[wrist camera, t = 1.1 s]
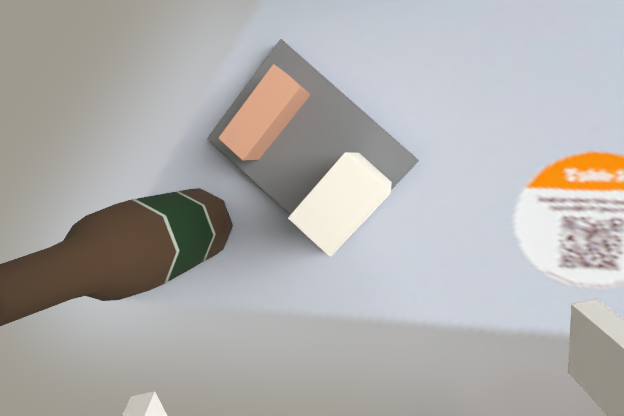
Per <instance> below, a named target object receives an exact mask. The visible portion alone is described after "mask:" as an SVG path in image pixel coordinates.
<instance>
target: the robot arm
mask: <svg viewBox="0 0 624 416" xmlns="http://www.w3.org/2000/svg"><path fill="white" fill-rule="evenodd" d="M568 373H569V374H570V375H571V376H572V377H573V378H574V379H575V380H576V381H577V383H578V384H579V385H580V386H581V387H582V388H583V389H584V390H585V392H587V394H588V395H589V396H590V397H591V398H592V399H593V400H594V401H595V403H596V404H598V406H599V407H600V408H601V409H602V410H603V411H604V413H605V414H606V415H607V416H624V319H622V318H621V317H620V316H618V315H617V314H616V313H615V312H613V311H612V310H611V309H609V308H608V307H607V306H605V305H604V304H603V303H601V302H600V301H599V300H597V299H594V300H589V301H585V302H580V303H575V304H572V305H571V324H570V342H569V361H568ZM122 416H167V414H166V412H165V410H164V408H163V407H162V405H161V403H160V400H159V398H158V397H157V395H156V393H155V391H154V392H149V393H144V394H140V395H135V396H131V398H130V400H129V402H128V404H127V406H126V408H125V410H124V413H123V415H122Z"/></svg>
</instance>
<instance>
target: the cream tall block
mask: <svg viewBox="0 0 624 416" xmlns="http://www.w3.org/2000/svg"><path fill="white" fill-rule="evenodd" d="M391 184H392V182H391V181H390V180H389V179H388V178H387V177H386V176H385V175H383V174H382V173H381V172H380V171H379V170H378V169H377V168H376V167H374V166H373V165H372V164H371V163H370V162H369V161H368V160H367V159H365V158H364V157H363V156H362V155H361V154H360V153H348V152H345V153H344V154H343V155H342V156H341V157H340V159H339V160H338V161H337V162H336V163H335V164H334V166H333V167H332V168H331V169H330V170H329V171H328V172H327V174H326V175H325V176H324V177H323V178H322V179H321V180H320V182H319V183H318V184H317V185H316V186H315V187H314V189H313V190H312V191H311V192H310V193H309V194H308V195H307V197H306V198H305V199H304V200H303V201H302V202H301V203H300V205H299V206H298V207H297V208H296V209H295V210H294V212H293V213H292V214H291V215H290V216H289V217H288V219H289V220H290V221H291V222H293V223H294V224H295V225H296V226H297V227H298V228H299V229H300V230H301V231H302V232H303V233H304V234H306V235H307V236H308V237H309V238H310V239H311V240H312V241H313V242H314V243H315V244H316V245H317V246H319V247H320V248H321V249H322V250H323V251H324V252H325V253H326V254H327V255H328V256H329V257H331V256H332V255H333V254H334V253H335V252H336V251H337V250H338V248H339V247H340V246H341V245H342V244H343V243H344V242H345V241H346V240H347V239H348V238H349V237H350V236H351V235H352V234H353V233H354V232H355V231H356V229H357V228H358V227H359V226H360V225H361V224H362V223H363V222H364V221H365V220H366V219H367V218H368V217H369V216H370V215H371V214H372V213H373V211H374V210H375V209H376V208H377V207H378V206H379V205H380V204H381V203H382V202H383V201H384V200H385V199H386V198H387V197H388V196H389V195H390V194H391Z"/></svg>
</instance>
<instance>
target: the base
mask: <svg viewBox="0 0 624 416" xmlns="http://www.w3.org/2000/svg"><path fill="white" fill-rule="evenodd" d="M273 64H275V65H276V66H277V67H279V68H280V69H281V70H283V71H284V72H285V73H287V74H288V75H289V76H290V77H291V78H292V79H294V80H295V81H296V82H297V83H298V84H299V85H300V86H301V87H303V88H304V89H305V90H306V91H307V92H308V93H309V94H310V96H309V98H308V99H307V100H306V101H305V103H304V104H303V105H302V106H301V108H300V109H299V110H298V111H297V113H296V114H295V115H294V116H293V118H292V119H291V120H290V121H289V123H288V124H287V125H286V126H285V128H284V129H283V130H282V131H281V133H280V134H279V135H278V136H277V138H276V139H275V140H274V141H273V143H272V144H271V145H270V147H269V148H268V149H267V150H266V152H265V153H264V154H263V155H262V157H261V158H260V159H259V160H242V159H241V158H239V157H238V156H237V155H236V154H235V153H234V152H233V151H232V150H231V149H230V148H229V147H227V146H226V145H225V144H224V143H223V142H222V141H221V140H220V139H219V136H220V135H221V134H222V132H223V131H224V130H225V128H226V127H227V126H228V124H229V123H230V122H231V120H232V119H233V118H234V116H235V115H236V114H237V112H238V111H239V110H240V108H241V107H242V106H243V104H244V103H245V102H246V100H247V99H248V98H249V96H250V95H251V94H252V92H253V91H254V90H255V88H256V87H257V85H258V84H259V83H260V81H261V80H262V79H263V77H264V76H265V75H266V73H267V72H268V71H269V69H270V68H271V67H272V65H273ZM208 140H210V141H211V142H212V143H213V144H214V145H215V146H216V147H217V148H218V149H219V150H220V151H221V152H223V153H224V154H225V155H226V156H227V157H228V158H229V159H230V160H231V161H232V162H233V163H234V164H236V165H237V166H238V167H239V168H240V169H241V170H242V171H243V172H244V173H245V174H246V175H247V176H249V177H250V178H251V179H252V180H253V181H254V182H255V183H256V184H257V185H258V186H259V187H261V188H262V189H263V190H264V191H265V192H266V193H267V194H268V195H269V196H270V197H271V198H272V199H274V200H275V201H276V202H277V203H278V204H279V205H280V206H281V207H282V208H283V209H284V210H285V211H287V212H288V213H289V214H290V215H291V214H292V213H293V212H294V210H295V209H296V208H297V207H298V206H299V205H300V203H301V202H302V201H303V200H304V199H305V198H306V197H307V195H308V194H309V193H310V192H311V191H312V190H313V189H314V187H315V186H316V185H317V184H318V183H319V182H320V180H321V179H322V178H323V177H324V176H325V175H326V174H327V172H328V171H329V170H330V169H331V168H332V167H333V166H334V164H335V163H336V162H337V161H338V160H339V159H340V157H341V156H342V155H343V154H344V153H345V152H348V153H360V154H361V155H362V156H363V157H364V158H365V159H367V160H368V161H369V162H370V163H371V164H372V165H373V166H374V167H376V168H377V169H378V170H379V171H380V172H381V173H382V174H383V175H385V176H386V177H387V178H388V179H389V180H390V181H391V182H392V184H391V190H392V189H393V188H394V187H395V186H396V184H397V183H398V182H399V181H400V180H401V179H402V178H403V177H404V176H405V175H406V174H407V173H408V172H409V171H410V170H411V169H412V168H413V166H414V165H415V164H416V163H417V162H418V161H419V160H418V159H417V158H416V157H415V156H413V155H412V154H411V153H410V152H409V151H408V150H407V149H405V148H404V147H403V146H402V145H401V144H400V143H399V142H397V141H396V140H395V139H394V138H393V137H392V136H391V135H390V134H388V133H387V132H386V131H385V130H384V129H383V128H382V127H380V126H379V125H378V124H377V123H376V122H375V121H374V120H373V119H371V118H370V117H369V116H368V115H367V114H366V113H365V112H363V111H362V110H361V109H360V108H359V107H358V106H357V105H355V104H354V103H353V102H352V101H351V100H350V99H349V98H348V97H346V96H345V95H344V94H343V93H342V92H341V91H340V90H338V89H337V88H336V87H335V86H334V85H333V84H332V83H331V82H329V81H328V80H327V79H326V78H325V77H324V76H323V75H321V74H320V73H319V72H318V71H317V70H316V69H315V68H313V67H312V66H311V65H310V64H309V63H308V62H307V61H306V60H304V59H303V58H302V57H301V56H300V55H299V54H298V53H296V52H295V51H294V50H293V49H292V48H291V47H290V46H289V45H287V44H286V43H285V42H284V41H283V40H282V39H281V40H280V41H279V42H278V44H277V45H276V46H275V48H274V49H273V50H272V52H271V53H270V54H269V56H268V57H267V59H266V60H265V61H264V63H263V64H262V65H261V67H260V68H259V69H258V71H257V72H256V73H255V75H254V76H253V78H252V79H251V80H250V82H249V83H248V84H247V86H246V87H245V88H244V90H243V91H242V92H241V94H240V95H239V97H238V98H237V99H236V101H235V102H234V103H233V105H232V106H231V107H230V109H229V110H228V111H227V113H226V114H225V116H224V117H223V118H222V120H221V121H220V122H219V124H218V125H217V126H216V128H215V129H214V130H213V132H212V133H211V135H210V136H209V137H208Z"/></svg>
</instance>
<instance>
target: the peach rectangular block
mask: <svg viewBox="0 0 624 416" xmlns="http://www.w3.org/2000/svg"><path fill="white" fill-rule="evenodd" d="M309 96H310V94H309V93H308V92H307V91H306V90H305V89H304V88H303V87H301V86H300V85H299V84H298V83H297V82H296V81H295V80H294V79H292V78H291V77H290V76H289V75H288V74H287V73H285V72H284V71H283V70H281V69H280V68H279V67H277V66H276V65H275V64H273V65H272V67H271V68H270V69H269V71H268V72H267V73H266V75H265V76H264V77H263V79H262V80H261V81H260V83H259V84H258V85H257V87H256V88H255V90H254V91H253V92H252V94H251V95H250V96H249V98H248V99H247V100H246V102H245V103H244V104H243V106H242V107H241V108H240V110H239V111H238V112H237V114H236V115H235V116H234V118H233V119H232V120H231V122H230V123H229V124H228V126H227V127H226V128H225V130H224V131H223V132H222V134H221V135H220V136H219V139H220V140H221V141H222V142H223V143H224V144H225V145H226V146H227V147H229V148H230V149H231V150H232V151H233V152H234V153H235V154H236V155H237V156H238V157H239V158H241V159H242V160H259V159H260V158H261V157H262V155H263V154H264V153H265V152H266V150H267V149H268V148H269V147H270V145H271V144H272V143H273V141H274V140H275V139H276V138H277V136H278V135H279V134H280V133H281V131H282V130H283V129H284V128H285V126H286V125H287V124H288V123H289V121H290V120H291V119H292V118H293V116H294V115H295V114H296V113H297V111H298V110H299V109H300V108H301V106H302V105H303V104H304V103H305V101H306V100H307V99H308V98H309Z"/></svg>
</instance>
